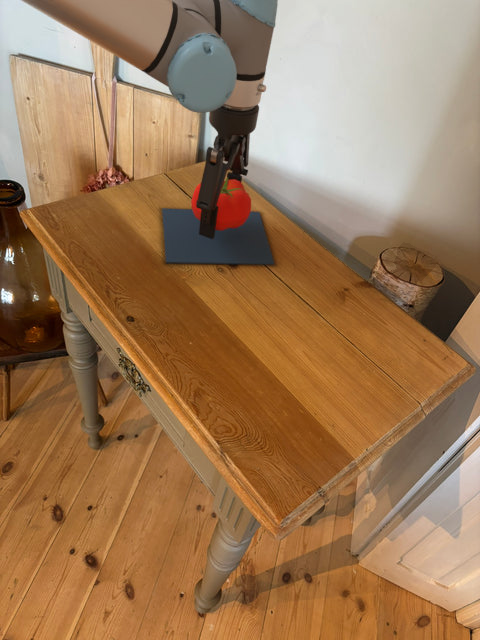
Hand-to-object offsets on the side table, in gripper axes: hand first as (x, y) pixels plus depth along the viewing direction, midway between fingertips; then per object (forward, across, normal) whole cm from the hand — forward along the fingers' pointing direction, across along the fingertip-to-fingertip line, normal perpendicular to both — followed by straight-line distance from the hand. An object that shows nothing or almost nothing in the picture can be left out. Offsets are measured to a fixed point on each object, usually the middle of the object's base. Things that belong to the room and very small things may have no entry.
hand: (218, 219), depth 86 cm
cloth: (+4, 0, 0) cm, 4 cm away
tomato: (0, 0, 0) cm, 0 cm away
